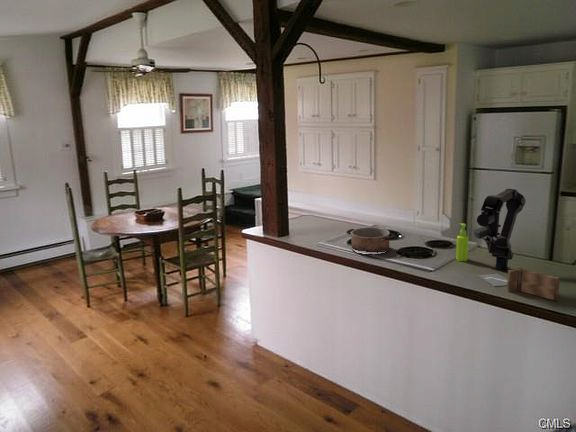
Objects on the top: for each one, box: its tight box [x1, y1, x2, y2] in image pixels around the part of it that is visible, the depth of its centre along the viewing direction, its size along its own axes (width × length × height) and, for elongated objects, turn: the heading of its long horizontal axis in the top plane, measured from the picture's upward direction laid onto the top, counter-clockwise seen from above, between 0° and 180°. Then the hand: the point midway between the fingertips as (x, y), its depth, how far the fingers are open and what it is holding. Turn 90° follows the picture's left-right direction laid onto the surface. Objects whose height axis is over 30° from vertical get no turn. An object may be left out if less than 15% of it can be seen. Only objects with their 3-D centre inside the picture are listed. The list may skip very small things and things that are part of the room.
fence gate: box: [520, 269, 561, 302], centre depth 198 cm, size 15×2×10 cm, turn 39°
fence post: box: [506, 267, 524, 293], centre depth 205 cm, size 6×2×10 cm, turn 96°
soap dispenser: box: [455, 222, 470, 262], centre depth 247 cm, size 6×7×20 cm
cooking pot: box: [346, 227, 396, 253], centre depth 272 cm, size 30×22×11 cm
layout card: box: [478, 273, 508, 288], centre depth 219 cm, size 14×10×1 cm
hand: (490, 253), depth 222 cm, fingers closed
